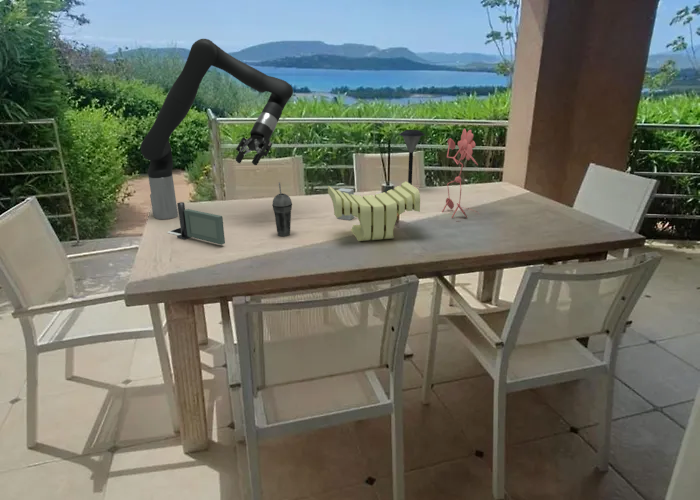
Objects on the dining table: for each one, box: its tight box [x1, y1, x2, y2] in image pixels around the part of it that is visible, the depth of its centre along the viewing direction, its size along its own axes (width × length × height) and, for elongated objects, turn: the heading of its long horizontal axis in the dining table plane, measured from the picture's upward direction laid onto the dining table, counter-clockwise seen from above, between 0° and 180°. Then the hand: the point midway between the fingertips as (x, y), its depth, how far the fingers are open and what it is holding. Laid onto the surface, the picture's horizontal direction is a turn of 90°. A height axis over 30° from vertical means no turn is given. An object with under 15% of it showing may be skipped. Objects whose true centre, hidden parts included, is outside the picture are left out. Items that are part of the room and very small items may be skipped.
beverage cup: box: [272, 182, 293, 237], centre depth 179 cm, size 7×7×20 cm
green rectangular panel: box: [184, 208, 226, 246], centre depth 173 cm, size 17×2×10 cm, turn 58°
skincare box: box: [336, 187, 355, 221], centre depth 199 cm, size 6×4×12 cm
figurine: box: [441, 128, 479, 223], centre depth 200 cm, size 15×26×35 cm, turn 15°
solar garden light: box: [398, 129, 426, 186], centre depth 233 cm, size 12×12×30 cm
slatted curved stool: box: [327, 180, 421, 242], centre depth 178 cm, size 30×16×18 cm, turn 103°
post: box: [176, 201, 192, 241], centre depth 178 cm, size 4×4×13 cm
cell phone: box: [166, 226, 181, 236], centre depth 190 cm, size 8×16×1 cm, turn 149°
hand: (245, 163), depth 182 cm, fingers open, 8 cm apart
